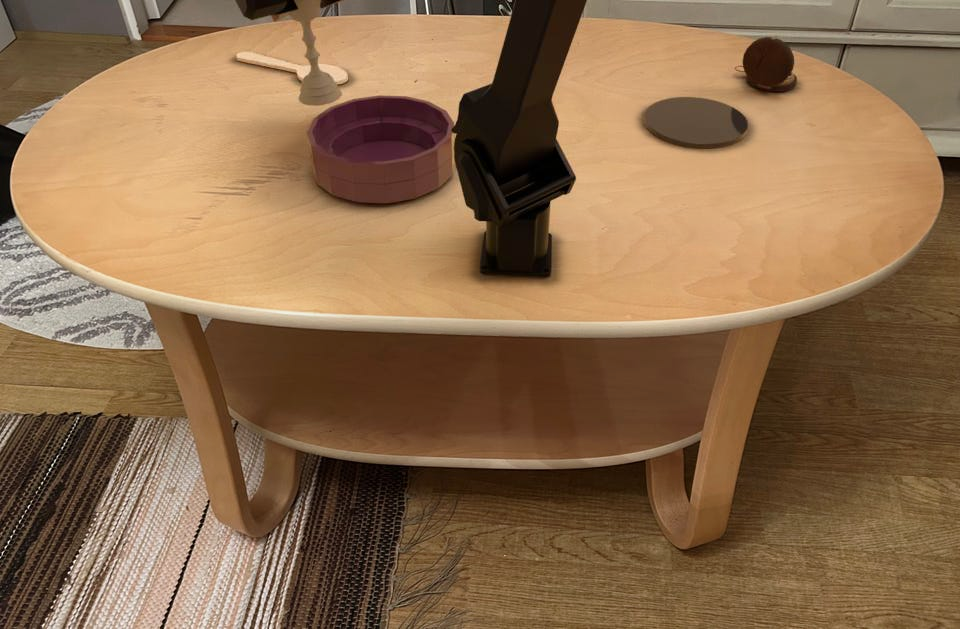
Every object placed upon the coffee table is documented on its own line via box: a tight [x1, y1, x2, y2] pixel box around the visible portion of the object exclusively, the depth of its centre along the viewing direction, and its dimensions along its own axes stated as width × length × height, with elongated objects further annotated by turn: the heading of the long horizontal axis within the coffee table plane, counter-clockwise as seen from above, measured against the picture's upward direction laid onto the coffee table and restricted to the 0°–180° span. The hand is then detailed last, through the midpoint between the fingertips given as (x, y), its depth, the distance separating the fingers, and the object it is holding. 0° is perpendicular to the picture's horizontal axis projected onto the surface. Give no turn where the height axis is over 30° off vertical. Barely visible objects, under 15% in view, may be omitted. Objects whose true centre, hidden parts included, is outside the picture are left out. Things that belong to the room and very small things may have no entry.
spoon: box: [235, 51, 349, 86], centre depth 106 cm, size 5×18×1 cm, turn 62°
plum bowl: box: [306, 94, 456, 204], centre depth 85 cm, size 15×15×5 cm
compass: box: [734, 35, 798, 92], centre depth 100 cm, size 8×8×7 cm
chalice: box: [288, 0, 343, 107], centre depth 86 cm, size 7×7×18 cm
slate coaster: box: [643, 96, 749, 149], centre depth 94 cm, size 12×12×1 cm
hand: (297, 10), depth 87 cm, fingers closed on chalice, 5 cm apart
